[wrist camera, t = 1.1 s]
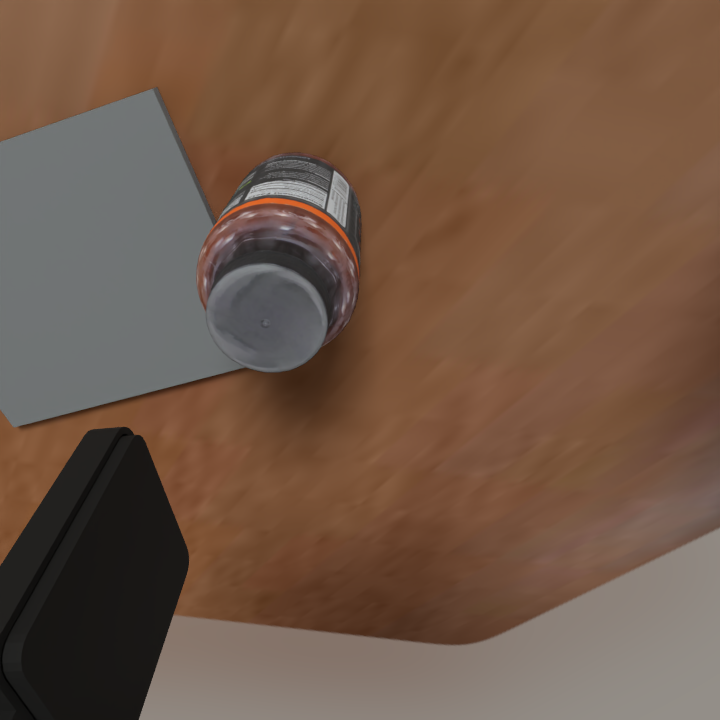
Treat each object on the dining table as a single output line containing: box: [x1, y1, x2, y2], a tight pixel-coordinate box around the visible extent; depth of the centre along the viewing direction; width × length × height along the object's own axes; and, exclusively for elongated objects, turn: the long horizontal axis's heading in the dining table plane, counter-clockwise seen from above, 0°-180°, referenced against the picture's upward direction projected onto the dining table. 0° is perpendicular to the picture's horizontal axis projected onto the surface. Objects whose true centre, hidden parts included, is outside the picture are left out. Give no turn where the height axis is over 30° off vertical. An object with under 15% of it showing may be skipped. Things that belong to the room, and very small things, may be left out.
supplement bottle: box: [196, 153, 361, 372], centre depth 25 cm, size 6×6×11 cm
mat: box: [0, 87, 245, 427], centre depth 32 cm, size 16×14×1 cm
